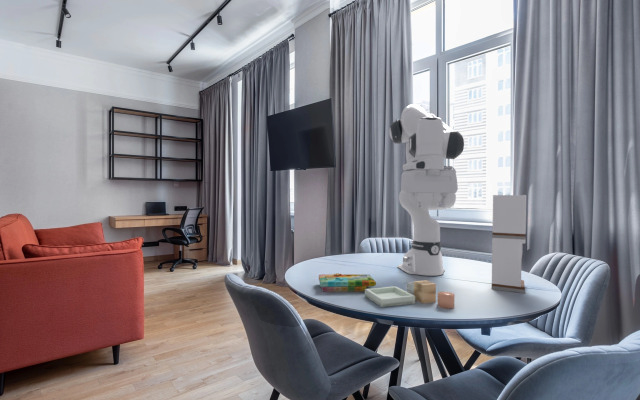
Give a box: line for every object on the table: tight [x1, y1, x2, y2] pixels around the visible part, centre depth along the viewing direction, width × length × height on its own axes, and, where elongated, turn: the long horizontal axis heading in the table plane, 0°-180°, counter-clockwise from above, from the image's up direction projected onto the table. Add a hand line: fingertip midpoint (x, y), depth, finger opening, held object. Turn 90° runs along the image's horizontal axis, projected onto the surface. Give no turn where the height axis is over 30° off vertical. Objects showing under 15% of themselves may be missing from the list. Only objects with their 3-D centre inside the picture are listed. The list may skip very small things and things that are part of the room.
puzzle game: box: [318, 273, 377, 293], centre depth 130 cm, size 12×5×20 cm
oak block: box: [414, 280, 437, 304], centre depth 115 cm, size 5×5×6 cm
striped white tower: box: [491, 194, 527, 294], centre depth 131 cm, size 11×11×35 cm
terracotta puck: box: [437, 290, 456, 310], centre depth 110 cm, size 5×5×4 cm
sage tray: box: [364, 285, 416, 308], centre depth 116 cm, size 12×12×2 cm
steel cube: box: [406, 281, 414, 295], centre depth 122 cm, size 4×4×4 cm
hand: (429, 206), depth 115 cm, fingers open, 8 cm apart
